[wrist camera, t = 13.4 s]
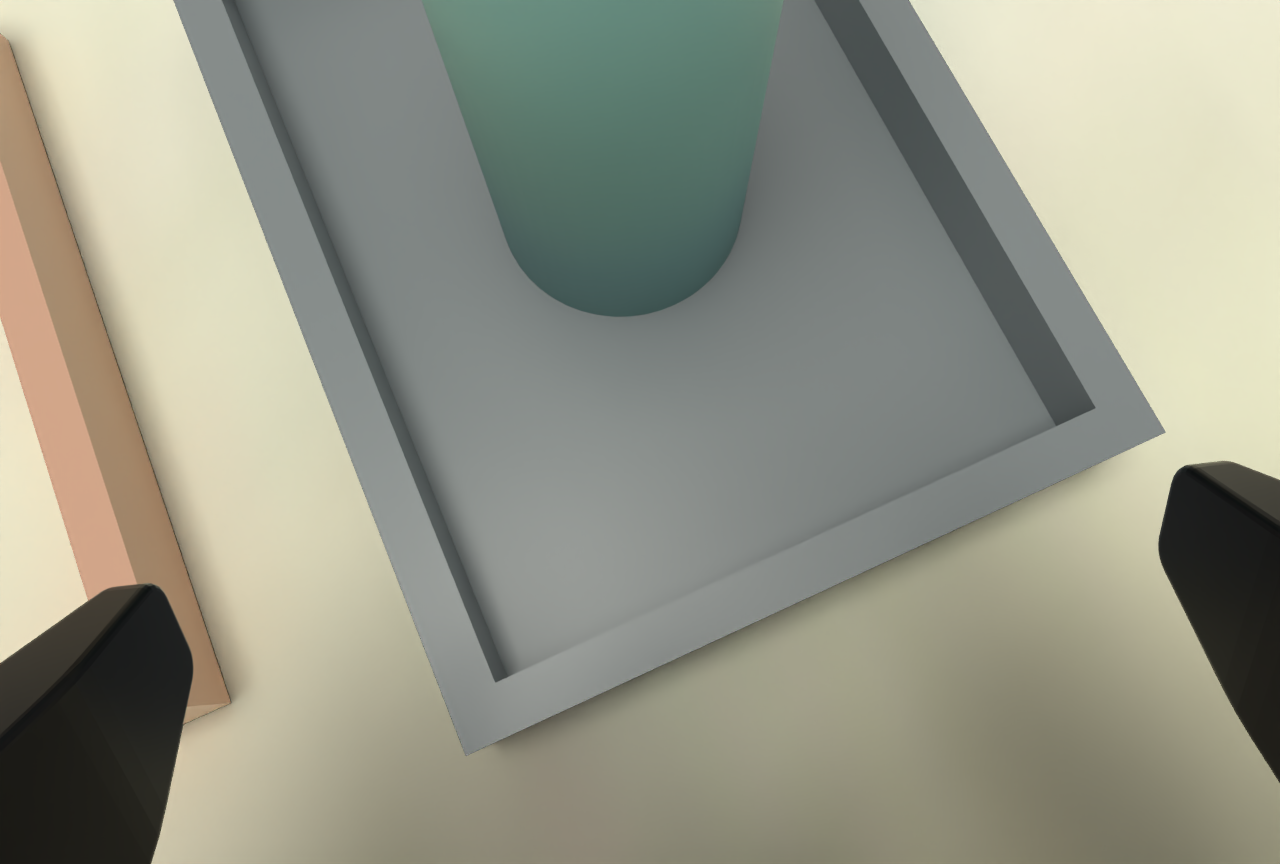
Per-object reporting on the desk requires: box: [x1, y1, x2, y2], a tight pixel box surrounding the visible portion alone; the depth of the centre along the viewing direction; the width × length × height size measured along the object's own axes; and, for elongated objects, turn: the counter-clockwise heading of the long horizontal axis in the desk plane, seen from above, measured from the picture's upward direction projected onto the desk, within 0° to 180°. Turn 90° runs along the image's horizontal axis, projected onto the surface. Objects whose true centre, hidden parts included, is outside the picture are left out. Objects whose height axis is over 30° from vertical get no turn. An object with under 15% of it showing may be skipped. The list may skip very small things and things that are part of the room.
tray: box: [174, 0, 1165, 756], centre depth 18 cm, size 16×12×2 cm
